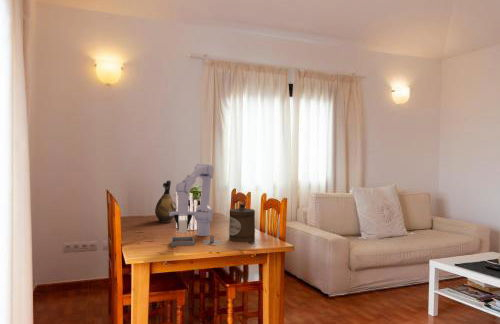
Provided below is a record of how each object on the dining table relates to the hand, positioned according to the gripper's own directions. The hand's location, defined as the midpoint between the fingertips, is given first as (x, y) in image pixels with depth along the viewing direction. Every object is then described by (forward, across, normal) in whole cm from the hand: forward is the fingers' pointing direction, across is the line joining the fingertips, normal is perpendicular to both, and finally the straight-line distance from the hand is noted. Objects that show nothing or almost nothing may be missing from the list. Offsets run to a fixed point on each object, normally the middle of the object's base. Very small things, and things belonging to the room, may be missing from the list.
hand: (182, 228), depth 218 cm
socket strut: (+2, 0, 0) cm, 2 cm away
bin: (+9, 0, 0) cm, 9 cm away
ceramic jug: (+9, -10, +77) cm, 78 cm away
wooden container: (+9, +34, +5) cm, 36 cm away
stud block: (+9, +16, -1) cm, 18 cm away
